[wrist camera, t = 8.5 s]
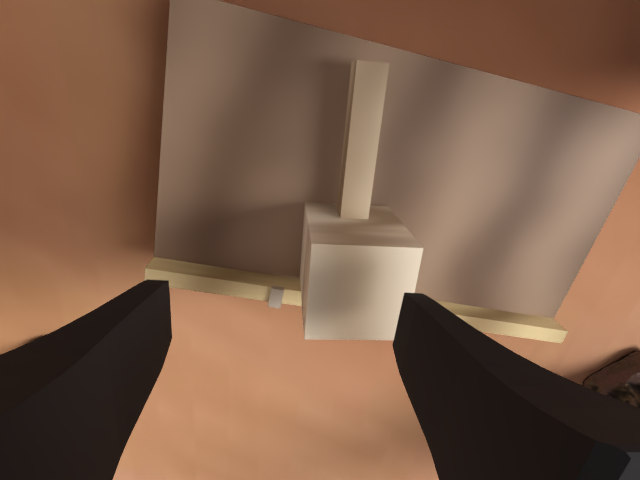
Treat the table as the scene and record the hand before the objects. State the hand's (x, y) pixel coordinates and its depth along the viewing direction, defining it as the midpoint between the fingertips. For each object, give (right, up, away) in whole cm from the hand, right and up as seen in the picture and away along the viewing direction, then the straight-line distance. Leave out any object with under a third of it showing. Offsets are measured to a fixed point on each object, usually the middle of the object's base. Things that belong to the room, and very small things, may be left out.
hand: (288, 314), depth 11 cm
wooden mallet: (+2, +5, +6) cm, 8 cm away
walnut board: (+5, +5, +8) cm, 11 cm away
